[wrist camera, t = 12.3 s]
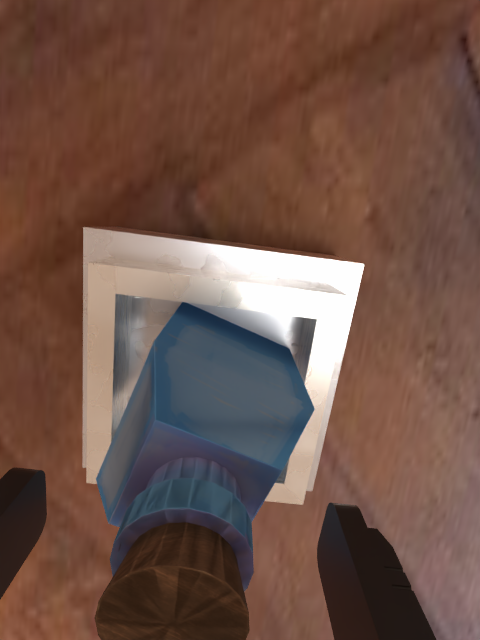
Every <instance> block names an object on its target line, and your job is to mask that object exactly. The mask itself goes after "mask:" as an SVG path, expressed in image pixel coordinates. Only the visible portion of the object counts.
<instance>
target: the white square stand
mask: <svg viewBox="0 0 480 640" xmlns="http://www.w3.org/2000/svg"><path fill="white" fill-rule="evenodd" d="M363 268H364V264H362V263H359V262H355V261H352V260H349V259H345V258H342V257H339V256H335V255H327V254H320V253H312V252H305V251H297V250H290V249H282V248H275V247H267V246H260V245H252V244H245V243H237V242H230V241H222V240H215V239H207V238H200V237H192V236H185V235H177V234H170V233H162V232H155V231H147V230H140V229H132V228H125V227H83V468H87V483H93V484H97V481H96V477H97V475H98V473H99V470H100V468H101V466H102V463H103V461H104V458H105V456H106V454H107V451H108V449H109V447H110V444H111V442H112V439H113V437H114V435H115V432H116V430H117V428H118V425H119V423H120V421H121V418H122V416H123V413H124V411H125V409H126V406H127V404H128V402H129V399H130V397H131V394H132V392H133V390H134V387H135V385H136V383H137V380H138V378H139V376H140V373H141V371H142V368H143V366H144V364H145V361H146V359H147V357H148V354H149V352H150V349H151V347H152V345H153V342H154V340H155V339H156V338H157V336H158V335H159V333H160V332H161V331H162V329H163V328H164V327H165V325H166V324H167V322H168V321H169V320H170V318H171V317H172V316H173V314H174V313H175V311H176V310H177V309H178V307H179V306H180V305H181V303H182V302H186V303H189V304H191V305H193V306H195V307H198V308H200V309H202V310H204V311H207V312H209V313H211V314H213V315H216V316H218V317H220V318H222V319H224V320H227V321H229V322H231V323H233V324H236V325H238V326H240V327H242V328H245V329H247V330H249V331H251V332H254V333H256V334H258V335H260V336H263V337H265V338H267V339H269V340H271V341H274V342H276V343H278V344H280V345H283V346H285V347H287V348H289V349H290V351H291V354H292V356H293V358H294V361H295V363H296V366H297V368H298V370H299V373H300V375H301V377H302V380H303V382H304V385H305V387H306V389H307V392H308V394H309V396H310V399H311V401H312V404H313V406H314V408H315V410H314V412H313V414H312V416H311V418H310V419H309V421H308V423H307V425H306V427H305V429H304V431H303V433H302V435H301V436H300V438H299V440H298V442H297V444H296V446H295V448H294V450H293V452H292V454H291V455H290V457H289V459H288V461H287V463H286V465H285V467H284V469H283V471H282V472H281V474H280V476H279V477H278V479H277V481H276V482H275V484H274V486H273V487H272V489H271V491H270V492H269V494H268V496H267V497H266V499H265V501H271V502H281V503H291V504H301V505H303V502H304V498H305V493H306V491H312V490H313V486H314V481H315V477H316V473H317V468H318V464H319V460H320V455H321V451H322V447H323V442H324V438H325V434H326V429H327V425H328V420H329V416H330V412H331V407H332V403H333V399H334V394H335V390H336V386H337V381H338V377H339V372H340V368H341V364H342V359H343V355H344V351H345V346H346V342H347V338H348V333H349V329H350V325H351V320H352V316H353V311H354V307H355V303H356V298H357V294H358V290H359V285H360V281H361V277H362V272H363Z"/></svg>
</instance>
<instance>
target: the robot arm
mask: <svg viewBox="0 0 480 640" xmlns="http://www.w3.org/2000/svg"><path fill="white" fill-rule="evenodd" d="M46 515H47V509H46V481H45V473H44V471H42V470H33V469H24V468H12V469H10V470H9V471H8V472H7V473H6V474H5V475H4V476H3V477H2V478H1V479H0V599H1V597H2V596H3V594H4V593H5V591H6V590H7V588H8V586H9V585H10V583H11V582H12V580H13V579H14V577H15V575H16V574H17V572H18V571H19V569H20V568H21V566H22V564H23V563H24V561H25V560H26V558H27V557H28V555H29V553H30V552H31V550H32V549H33V547H34V546H35V544H36V542H37V541H38V539H39V537H40V535H41V533H42V531H43V528H44V525H45V521H46ZM317 560H318V568H319V573H320V578H321V582H322V586H323V591H324V595H325V600H326V604H327V608H328V613H329V617H330V622H331V626H332V630H333V635H334V639H335V640H436V638H435V636H434V634H433V631H432V629H431V627H430V625H429V623H428V621H427V619H426V617H425V615H424V612H423V610H422V608H421V606H420V604H419V602H418V600H417V598H416V595H415V593H414V591H412V590H411V585H410V583H409V581H408V579H407V576H406V574H405V573H404V572H403V568H402V566H401V564H400V562H399V559H398V557H397V555H396V553H395V551H394V549H393V547H392V546H391V545H390V543H389V542H388V541H387V540H386V539H385V538H384V536H383V535H382V534H381V533H380V532H379V531H378V529H374V528H367V525H366V523H365V521H364V518H363V516H362V513H361V511H360V509H359V508H358V507H357V506H356V505H347V504H338V503H329V504H328V507H327V510H326V514H325V518H324V522H323V526H322V530H321V534H320V537H319V541H318V548H317Z"/></svg>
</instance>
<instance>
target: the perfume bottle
mask: <svg viewBox="0 0 480 640" xmlns="http://www.w3.org/2000/svg"><path fill="white" fill-rule="evenodd" d="M314 410H315V408H314V406H313V404H312V401H311V399H310V396H309V394H308V392H307V389H306V387H305V385H304V382H303V380H302V377H301V375H300V373H299V370H298V368H297V366H296V363H295V361H294V358H293V356H292V354H291V351H290V349H289V348H287V347H285V346H283V345H280V344H278V343H276V342H274V341H271V340H269V339H267V338H265V337H263V336H260V335H258V334H256V333H254V332H251V331H249V330H247V329H245V328H242V327H240V326H238V325H236V324H233V323H231V322H229V321H227V320H224V319H222V318H220V317H218V316H216V315H213V314H211V313H209V312H207V311H204V310H202V309H200V308H198V307H195V306H193V305H191V304H189V303H186V302H182V303H181V305H180V306H179V307H178V309H177V310H176V311H175V313H174V314H173V316H172V317H171V318H170V320H169V321H168V322H167V324H166V325H165V327H164V328H163V329H162V331H161V332H160V333H159V335H158V336H157V338H156V339H155V340H154V342H153V345H152V347H151V349H150V352H149V354H148V357H147V359H146V361H145V364H144V366H143V368H142V371H141V373H140V376H139V378H138V380H137V383H136V385H135V387H134V390H133V392H132V394H131V397H130V399H129V402H128V404H127V406H126V409H125V411H124V413H123V416H122V418H121V421H120V423H119V425H118V428H117V430H116V432H115V435H114V437H113V439H112V442H111V444H110V447H109V449H108V451H107V454H106V456H105V458H104V461H103V463H102V466H101V468H100V470H99V473H98V475H97V477H96V481H97V485H98V488H99V492H100V495H101V499H102V502H103V506H104V509H105V513H106V516H107V520H108V523H109V524H112V525H115V526H118V527H120V528H119V531H118V533H117V536H116V539H115V541H114V544H113V549H112V553H111V557H110V563H111V569H112V574H113V578H112V580H111V581H110V583H109V585H108V586H107V588H106V590H105V591H104V593H103V595H102V596H101V598H100V600H99V602H98V607H97V611H96V615H95V622H96V627H97V631H98V636H99V637H100V639H101V640H246V638H247V635H248V633H249V612H248V608H247V603H246V598H245V594H244V591H245V590H246V589H247V588H248V585H249V583H250V580H251V577H252V575H253V572H254V571H253V544H252V521H253V519H254V517H255V516H256V514H257V512H258V511H259V509H260V507H261V506H262V504H263V502H264V501H265V499H266V497H267V496H268V494H269V492H270V491H271V489H272V487H273V486H274V484H275V482H276V481H277V479H278V477H279V476H280V474H281V472H282V471H283V469H284V467H285V465H286V463H287V461H288V459H289V457H290V455H291V454H292V452H293V450H294V448H295V446H296V444H297V442H298V440H299V438H300V436H301V435H302V433H303V431H304V429H305V427H306V425H307V423H308V421H309V419H310V418H311V416H312V414H313V412H314Z"/></svg>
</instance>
